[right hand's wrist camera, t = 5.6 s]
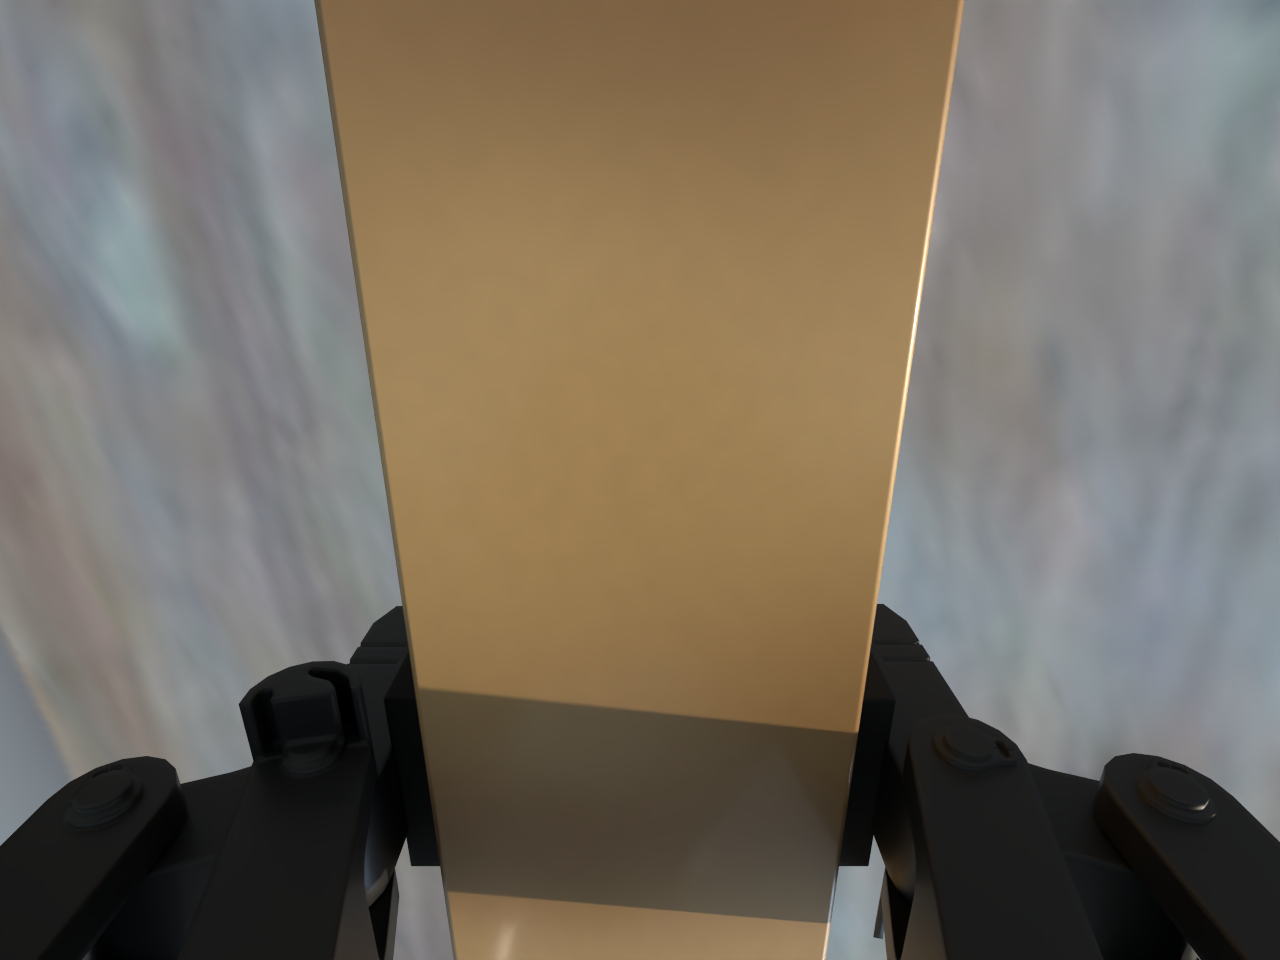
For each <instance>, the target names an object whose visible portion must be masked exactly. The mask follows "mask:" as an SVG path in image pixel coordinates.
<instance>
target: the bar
mask: <svg viewBox="0 0 1280 960" xmlns="http://www.w3.org/2000/svg"><path fill="white" fill-rule="evenodd" d="M314 1H315V8H316V14H317V21H318V28H319V35H320V42H321V49H322V56H323V63H324V69H325V76H326V83H327V90H328V97H329V104H330V111H331V118H332V125H333V131H334V138H335V145H336V152H337V159H338V166H339V173H340V180H341V186H342V193H343V200H344V207H345V214H346V221H347V228H348V235H349V241H350V248H351V255H352V262H353V269H354V276H355V283H356V290H357V297H358V303H359V310H360V317H361V324H362V331H363V338H364V345H365V352H366V358H367V365H368V372H369V379H370V386H371V393H372V400H373V407H374V413H375V420H376V427H377V434H378V441H379V448H380V455H381V462H382V469H383V475H384V482H385V489H386V496H387V503H388V510H389V517H390V524H391V530H392V537H393V544H394V551H395V558H396V565H397V572H398V579H399V585H400V592H401V599H402V606H403V613H404V620H405V627H406V634H407V641H408V647H409V654H410V661H411V668H412V675H413V682H414V689H415V696H416V702H417V709H418V716H419V723H420V730H421V737H422V744H423V751H424V757H425V764H426V771H427V778H428V785H429V792H430V799H431V806H432V813H433V819H434V826H435V833H436V840H437V847H438V854H439V861H440V868H441V874H442V881H443V888H444V895H445V902H446V909H447V916H448V923H449V929H450V936H451V943H452V950H453V957H454V960H825V959H826V952H827V945H828V938H829V931H830V924H831V917H832V910H833V903H834V896H835V889H836V883H837V876H838V869H839V862H840V855H841V848H842V841H843V834H844V827H845V820H846V814H847V807H848V800H849V793H850V786H851V779H852V772H853V765H854V758H855V751H856V745H857V738H858V731H859V724H860V717H861V710H862V703H863V696H864V689H865V682H866V676H867V669H868V662H869V655H870V648H871V641H872V634H873V627H874V620H875V613H876V607H877V600H878V593H879V586H880V579H881V572H882V565H883V558H884V551H885V544H886V538H887V531H888V524H889V517H890V510H891V503H892V496H893V489H894V482H895V475H896V469H897V462H898V455H899V448H900V441H901V434H902V427H903V420H904V413H905V406H906V400H907V393H908V386H909V379H910V372H911V365H912V358H913V351H914V344H915V337H916V331H917V324H918V317H919V310H920V303H921V296H922V289H923V282H924V275H925V268H926V262H927V255H928V248H929V241H930V234H931V227H932V220H933V213H934V206H935V199H936V193H937V186H938V179H939V172H940V165H941V158H942V151H943V144H944V137H945V130H946V124H947V117H948V110H949V103H950V96H951V89H952V82H953V75H954V68H955V61H956V55H957V48H958V41H959V34H960V27H961V20H962V13H963V6H964V0H314Z"/></svg>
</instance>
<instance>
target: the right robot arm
mask: <svg viewBox="0 0 1280 960" xmlns="http://www.w3.org/2000/svg"><path fill="white" fill-rule="evenodd" d="M239 707H240V711H241V715H242V718H243V722H244V726H245V730H246V734H247V738H248V741H249V745H250V749H251V753H252V757H253V764H252V766H251V767H247V768H244V769H241V770H237V771H234V772H231V773H226V774H222V775H218V776H213V777H209V778H205V779H200V780H196V781H192V782H187V783H183V784H180V781H179V778H178V775H177V772H176V769H175V768H174V767H173V766H172V765H171V764H170V763H169V762H168V761H166V760H165V759H160V758H155V757H149V756H144V757H136V758H128V759H122V760H119V761H116V762H113V763H110V764H107V765H104V766H101V767H98V768H95V769H93V770H92V771H90V772H88V773H86V774H84V775H82V776H80V777H78V778H77V779H75V780H73V781H71V782H69V783H68V784H67V785H65V786H64V787H63V788H62V789H60V790H59V791H58V792H57V793H55V794H54V795H53V796H52V797H50V798H49V799H48V800H47V801H46V802H45V803H44V804H43V805H42V806H41V807H40V808H39V809H37V810H36V811H35V812H34V813H33V814H32V815H31V816H30V817H29V818H28V819H27V820H26V821H25V822H24V823H23V824H22V825H21V826H20V827H19V828H18V829H17V830H16V831H15V832H14V833H13V834H12V835H11V836H10V837H9V838H8V839H7V840H6V841H5V842H4V843H3V844H2V845H1V846H0V960H393V954H394V944H395V934H396V923H397V913H398V903H399V891H398V884H397V878H396V872H395V866H396V863H397V861H398V858H399V855H400V852H401V850H402V847H403V844H404V842H405V839H406V837H407V843H408V849H409V855H410V861H411V866H440V861H439V854H438V847H437V840H436V833H435V826H434V819H433V813H432V806H431V799H430V792H429V785H428V778H427V771H426V764H425V757H424V751H423V744H422V737H421V730H420V723H419V716H418V709H417V702H416V696H415V689H414V682H413V675H412V668H411V661H410V654H409V647H408V641H407V634H406V627H405V620H404V613H403V606H396V607H395V608H394V609H392V610H391V611H389V612H388V613H387V614H385V615H384V616H383V617H381V618H380V619H379V620H377V621H376V622H375V623H373V625H372V626H371V628H370V629H369V631H368V633H367V634H366V636H365V637H364V639H363V640H362V642H361V646H360V647H358V648H357V650H356V651H355V653H354V654H353V656H352V657H351V659H350V664H347V665H346V664H342V663H339V662H335V661H317V662H309V663H305V664H300V665H296V666H292V667H288V668H286V669H284V670H282V671H279V672H277V673H275V674H273V675H270V676H268V677H267V678H265V679H264V680H262V681H261V682H260V683H258V684H257V685H255V686H254V687H253V688H251V689H250V690H249V691H248V693H247V694H246V695H245V697H244V698H243V699H242V701H241V702H240V703H239ZM873 835H874V837H875V840H876V842H877V845H878V848H879V850H880V853H881V856H882V858H883V861H884V864H885V866H886V867H885V872H884V878H883V883H882V889H881V895H880V900H879V906H878V911H877V917H876V923H875V930H874V937H875V938H880V939H883V934H884V932H885V942H886V952H887V960H1199V958H1200V959H1201V960H1280V842H1279V841H1278V840H1277V839H1276V838H1275V837H1274V836H1273V835H1272V834H1271V833H1270V832H1269V831H1268V830H1267V829H1266V828H1265V827H1264V826H1263V825H1262V824H1261V823H1260V822H1259V821H1258V820H1257V819H1256V818H1255V817H1254V816H1253V815H1252V814H1251V813H1249V812H1248V811H1247V810H1246V809H1245V808H1244V807H1243V806H1242V805H1241V804H1240V803H1239V802H1238V801H1237V800H1236V799H1235V798H1234V797H1233V796H1232V795H1231V794H1229V793H1228V792H1227V791H1225V790H1224V789H1223V788H1222V787H1220V786H1219V785H1218V784H1217V783H1215V782H1214V781H1213V780H1211V779H1210V778H1208V777H1206V776H1204V775H1202V774H1200V773H1198V772H1197V771H1195V770H1193V769H1191V768H1189V767H1187V766H1185V765H1183V764H1180V763H1177V762H1174V761H1171V760H1168V759H1165V758H1162V757H1159V756H1152V755H1144V754H1136V753H1132V754H1126V755H1120V756H1115V757H1114V758H1113V759H1112V760H1111V761H1109V762H1108V763H1107V764H1106V765H1105V767H1104V770H1103V773H1102V776H1101V779H1100V781H1097V780H1092V779H1088V778H1083V777H1079V776H1075V775H1070V774H1066V773H1062V772H1057V771H1053V770H1049V769H1045V768H1042V767H1039V766H1035V765H1032V764H1029V763H1028V762H1027V760H1026V758H1025V757H1024V755H1023V754H1022V752H1021V751H1020V749H1019V748H1018V746H1017V745H1016V744H1015V743H1014V742H1013V741H1011V740H1010V739H1009V738H1008V737H1007V736H1005V735H1004V734H1003V733H1002V732H1001V731H999V730H997V729H995V728H993V727H991V726H989V725H987V724H985V723H983V722H981V721H979V720H976V719H972V718H969V717H968V715H967V714H966V712H965V711H964V709H963V708H962V706H961V704H960V703H959V701H958V700H957V698H956V697H955V695H954V694H953V692H952V691H951V689H950V687H949V686H948V684H947V683H946V681H945V680H944V678H943V677H942V675H941V674H940V672H939V671H938V669H937V667H936V666H935V664H934V663H933V662H930V657H929V655H928V654H927V652H926V650H925V649H924V647H923V646H922V645H920V644H919V640H918V638H917V637H916V635H915V633H914V632H913V630H912V629H911V627H910V626H909V624H908V623H907V621H906V620H904V619H903V618H902V617H900V616H899V615H897V614H896V613H895V612H893V611H892V610H891V609H889V608H888V607H887V606H885V605H884V604H877V607H876V613H875V620H874V627H873V634H872V641H871V648H870V655H869V662H868V669H867V676H866V682H865V689H864V696H863V703H862V710H861V717H860V724H859V731H858V738H857V745H856V751H855V758H854V765H853V772H852V779H851V786H850V793H849V800H848V807H847V814H846V820H845V827H844V834H843V841H842V848H841V855H840V862H839V866H868V865H869V859H870V853H871V847H872V841H873ZM1197 956H1198V957H1199V958H1198V957H1197Z"/></svg>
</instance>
